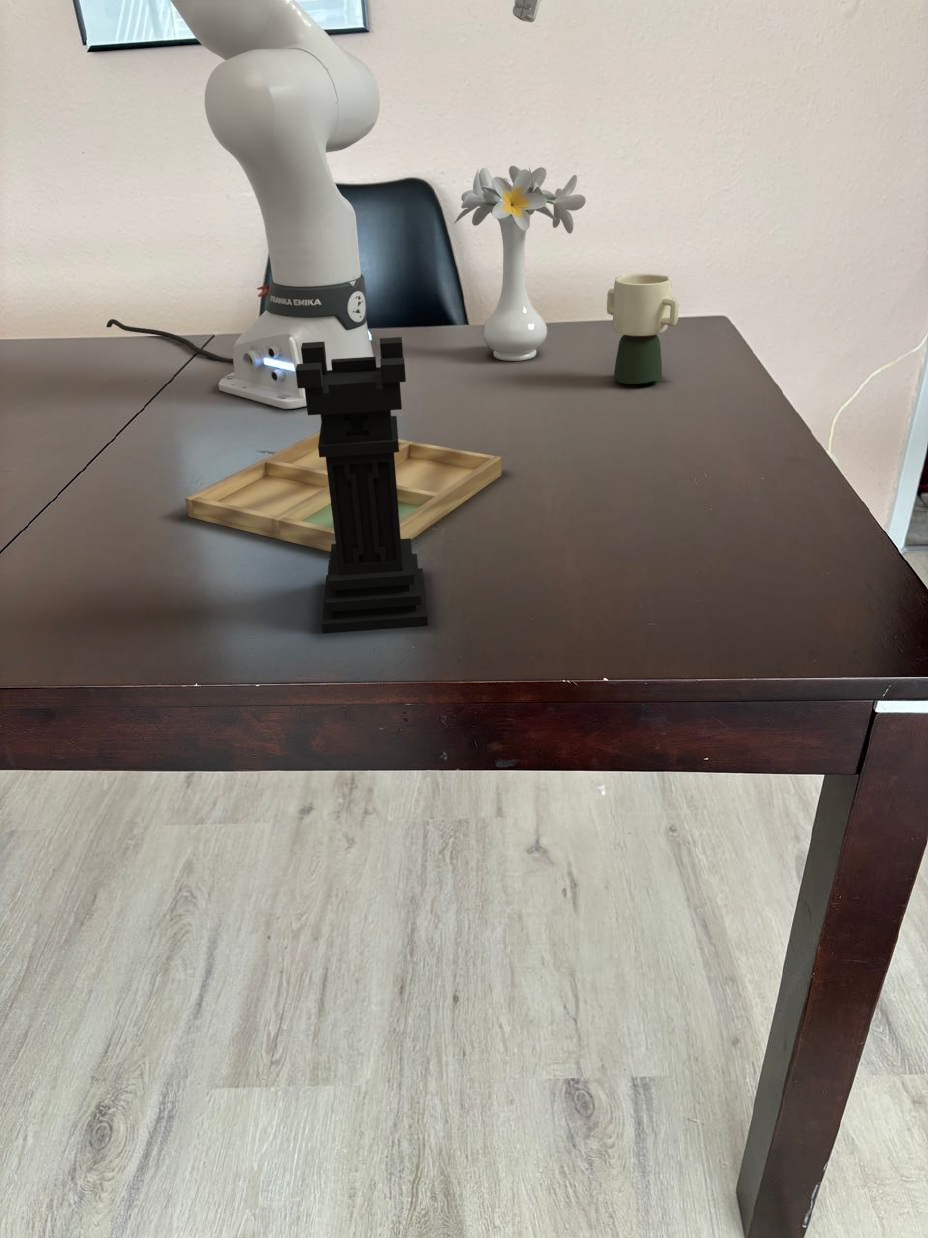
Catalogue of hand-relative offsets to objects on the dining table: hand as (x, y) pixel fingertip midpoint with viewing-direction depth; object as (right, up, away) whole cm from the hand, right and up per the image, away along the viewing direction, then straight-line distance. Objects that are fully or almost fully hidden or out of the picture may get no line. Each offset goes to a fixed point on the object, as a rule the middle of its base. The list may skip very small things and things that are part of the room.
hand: (498, 3), depth 85 cm
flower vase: (+5, -16, +54) cm, 56 cm away
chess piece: (-10, -54, -8) cm, 55 cm away
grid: (-14, -42, +11) cm, 46 cm away
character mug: (+20, -24, +40) cm, 51 cm away
